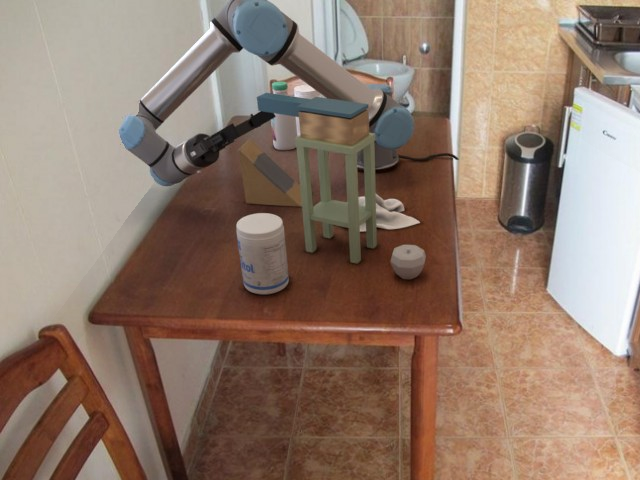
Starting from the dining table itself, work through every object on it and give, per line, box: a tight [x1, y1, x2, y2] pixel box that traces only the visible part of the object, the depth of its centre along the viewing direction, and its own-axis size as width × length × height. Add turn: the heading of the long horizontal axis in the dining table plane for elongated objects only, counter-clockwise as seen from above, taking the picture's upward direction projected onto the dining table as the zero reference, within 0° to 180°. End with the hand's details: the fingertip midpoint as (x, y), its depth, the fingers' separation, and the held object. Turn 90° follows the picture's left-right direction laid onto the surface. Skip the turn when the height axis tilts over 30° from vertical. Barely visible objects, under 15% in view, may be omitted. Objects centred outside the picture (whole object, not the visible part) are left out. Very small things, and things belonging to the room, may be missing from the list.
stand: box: [294, 133, 378, 265], centre depth 147 cm, size 14×10×27 cm
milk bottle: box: [270, 81, 297, 151], centre depth 206 cm, size 8×8×20 cm
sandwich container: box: [237, 138, 302, 208], centre depth 174 cm, size 9×15×15 cm, turn 81°
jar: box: [293, 84, 323, 137], centre depth 218 cm, size 12×10×15 cm
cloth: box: [358, 193, 421, 233], centre depth 167 cm, size 22×19×6 cm
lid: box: [256, 92, 369, 118], centre depth 140 cm, size 24×8×3 cm, turn 64°
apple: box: [389, 244, 427, 280], centre depth 143 cm, size 8×8×7 cm
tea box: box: [299, 109, 369, 146], centre depth 139 cm, size 12×8×5 cm, turn 64°
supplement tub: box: [235, 212, 290, 295], centre depth 137 cm, size 10×10×15 cm
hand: (254, 120), depth 147 cm, fingers open, 13 cm apart
